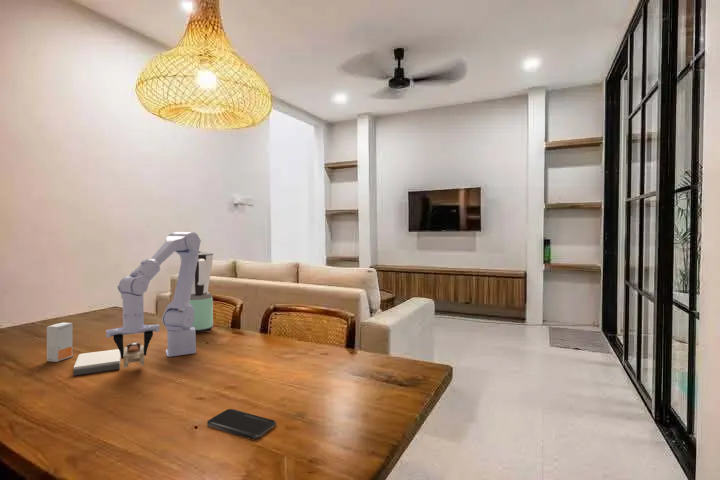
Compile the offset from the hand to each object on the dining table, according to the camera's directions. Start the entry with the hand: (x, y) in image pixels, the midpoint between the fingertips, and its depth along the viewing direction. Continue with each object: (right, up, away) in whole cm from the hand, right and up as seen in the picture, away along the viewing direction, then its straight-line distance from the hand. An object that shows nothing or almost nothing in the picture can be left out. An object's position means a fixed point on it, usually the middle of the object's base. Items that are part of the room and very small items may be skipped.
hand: (133, 356), depth 124 cm
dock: (-14, -4, +5) cm, 16 cm away
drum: (0, +2, 0) cm, 2 cm away
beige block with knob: (0, -2, 0) cm, 2 cm away
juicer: (+1, -3, +46) cm, 46 cm away
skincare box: (-31, -4, +10) cm, 33 cm away
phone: (+45, -7, -33) cm, 56 cm away
